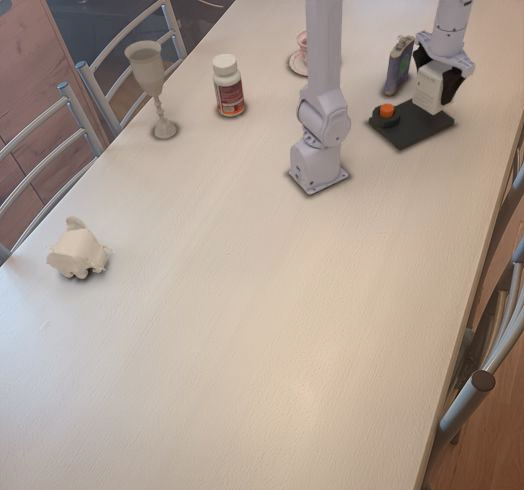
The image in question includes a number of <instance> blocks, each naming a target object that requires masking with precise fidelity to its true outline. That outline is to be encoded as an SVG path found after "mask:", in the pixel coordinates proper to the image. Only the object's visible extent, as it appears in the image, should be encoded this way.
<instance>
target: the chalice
mask: <svg viewBox="0 0 524 490" xmlns="http://www.w3.org/2000/svg"><path fill="white" fill-rule="evenodd" d="M161 52H162V46H161V44H160V43H159V42H157V41H155V40H139V41H137V42H133V43H132V44H129V45H128V46H127V47H125V50H124V56H125V57H126V58H127V60H129V64H130V67H131V70H132V73H133V76H134V79H135V81H136V83H138V85H139V86H140V88H141V89H142V90H143V91H144V92H145V93H146V94H147V95H148V96H149V97H150V98H153V99H154V100H153V101H154V103H153V105H154V106H155V107H156V111H155V113H156V114H157V115H158V117H159V119H158V120H157V121H156V122H155V127H154V136H155V137H156V138H158V139H169V138H172V137H173V136H174V135H175V134H176V133H177V131H178V130H177V126H175V125H174V123H173V122H172V120H170V119H169V118H166V117H165V116H164V113H165V109H164V108H162V104H163V102H162V101H161V100H160V99H159V96H161V95H162V93H163V89H164V84H165V75H166V73H165V71H166V70H165V68H164V63H163V59H162V56H161Z"/></svg>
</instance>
